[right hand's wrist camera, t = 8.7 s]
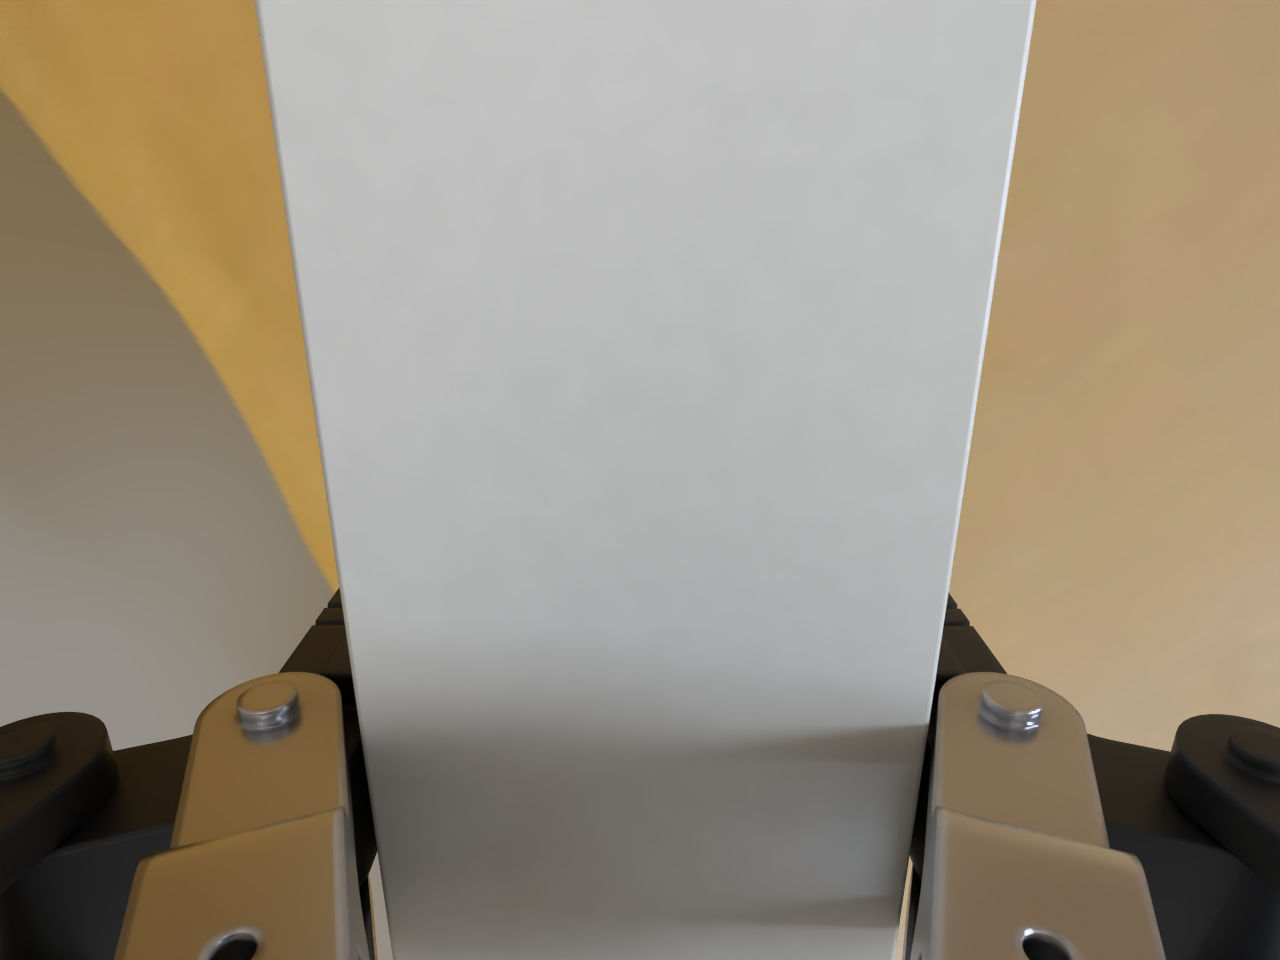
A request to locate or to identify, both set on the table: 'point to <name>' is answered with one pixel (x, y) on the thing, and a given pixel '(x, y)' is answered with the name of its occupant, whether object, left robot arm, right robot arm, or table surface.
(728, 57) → the bar
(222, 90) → the table surface
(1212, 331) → the table surface
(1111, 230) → the table surface
